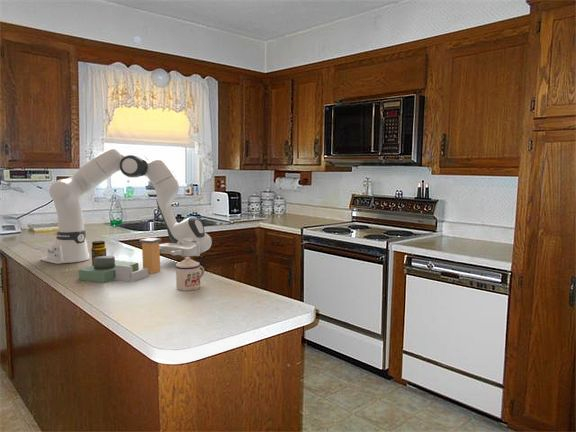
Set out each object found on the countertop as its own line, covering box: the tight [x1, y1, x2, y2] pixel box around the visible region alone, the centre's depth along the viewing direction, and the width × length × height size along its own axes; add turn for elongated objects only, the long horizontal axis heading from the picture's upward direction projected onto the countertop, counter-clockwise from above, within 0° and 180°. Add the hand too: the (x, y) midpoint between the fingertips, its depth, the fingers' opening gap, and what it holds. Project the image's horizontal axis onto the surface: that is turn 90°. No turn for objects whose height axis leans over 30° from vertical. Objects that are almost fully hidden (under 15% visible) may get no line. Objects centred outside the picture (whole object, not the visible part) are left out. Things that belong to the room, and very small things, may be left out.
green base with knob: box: [77, 255, 149, 284], centre depth 183 cm, size 22×19×8 cm
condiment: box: [90, 240, 107, 266], centre depth 197 cm, size 7×8×12 cm
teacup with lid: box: [174, 256, 205, 292], centre depth 168 cm, size 12×9×12 cm
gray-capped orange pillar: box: [138, 237, 163, 274], centre depth 191 cm, size 6×6×14 cm
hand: (164, 252), depth 199 cm, fingers open, 8 cm apart
